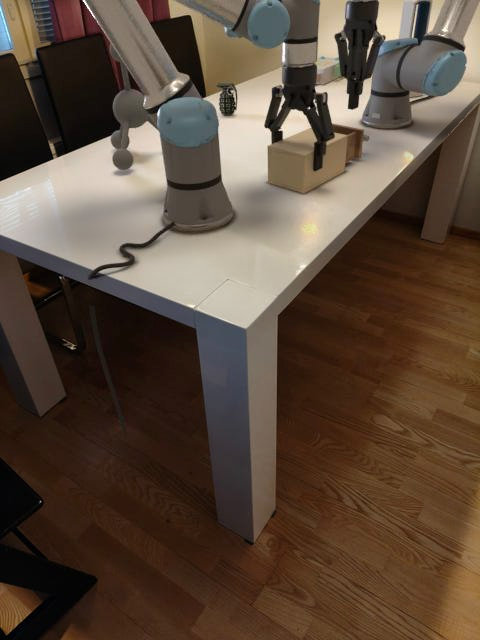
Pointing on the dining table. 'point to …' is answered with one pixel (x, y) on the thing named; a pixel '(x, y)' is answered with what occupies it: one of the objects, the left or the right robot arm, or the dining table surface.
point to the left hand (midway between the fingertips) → (297, 163)
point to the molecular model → (126, 117)
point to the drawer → (352, 140)
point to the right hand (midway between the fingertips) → (353, 108)
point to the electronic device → (420, 26)
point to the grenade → (227, 99)
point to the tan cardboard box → (304, 161)
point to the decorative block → (327, 69)
